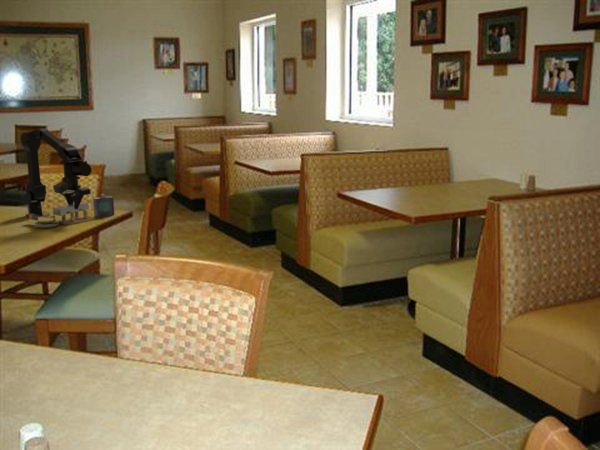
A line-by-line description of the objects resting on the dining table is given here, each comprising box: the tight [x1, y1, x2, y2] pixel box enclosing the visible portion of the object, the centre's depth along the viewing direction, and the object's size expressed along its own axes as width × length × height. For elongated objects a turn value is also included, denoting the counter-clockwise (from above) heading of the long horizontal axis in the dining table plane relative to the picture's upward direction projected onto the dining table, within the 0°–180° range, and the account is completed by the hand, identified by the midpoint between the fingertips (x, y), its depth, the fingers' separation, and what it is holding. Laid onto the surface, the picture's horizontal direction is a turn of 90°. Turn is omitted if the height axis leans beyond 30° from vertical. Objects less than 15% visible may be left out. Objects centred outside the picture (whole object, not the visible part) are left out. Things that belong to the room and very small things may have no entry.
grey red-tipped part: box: [28, 214, 56, 224], centre depth 272 cm, size 15×7×3 cm, turn 57°
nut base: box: [34, 211, 60, 230], centre depth 270 cm, size 10×10×6 cm
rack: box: [56, 209, 95, 226], centre depth 280 cm, size 9×14×5 cm, turn 147°
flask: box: [92, 193, 115, 218], centre depth 290 cm, size 9×3×11 cm, turn 115°
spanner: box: [52, 201, 89, 217], centre depth 278 cm, size 5×16×3 cm, turn 147°
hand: (73, 208), depth 279 cm, fingers closed on spanner, 3 cm apart
